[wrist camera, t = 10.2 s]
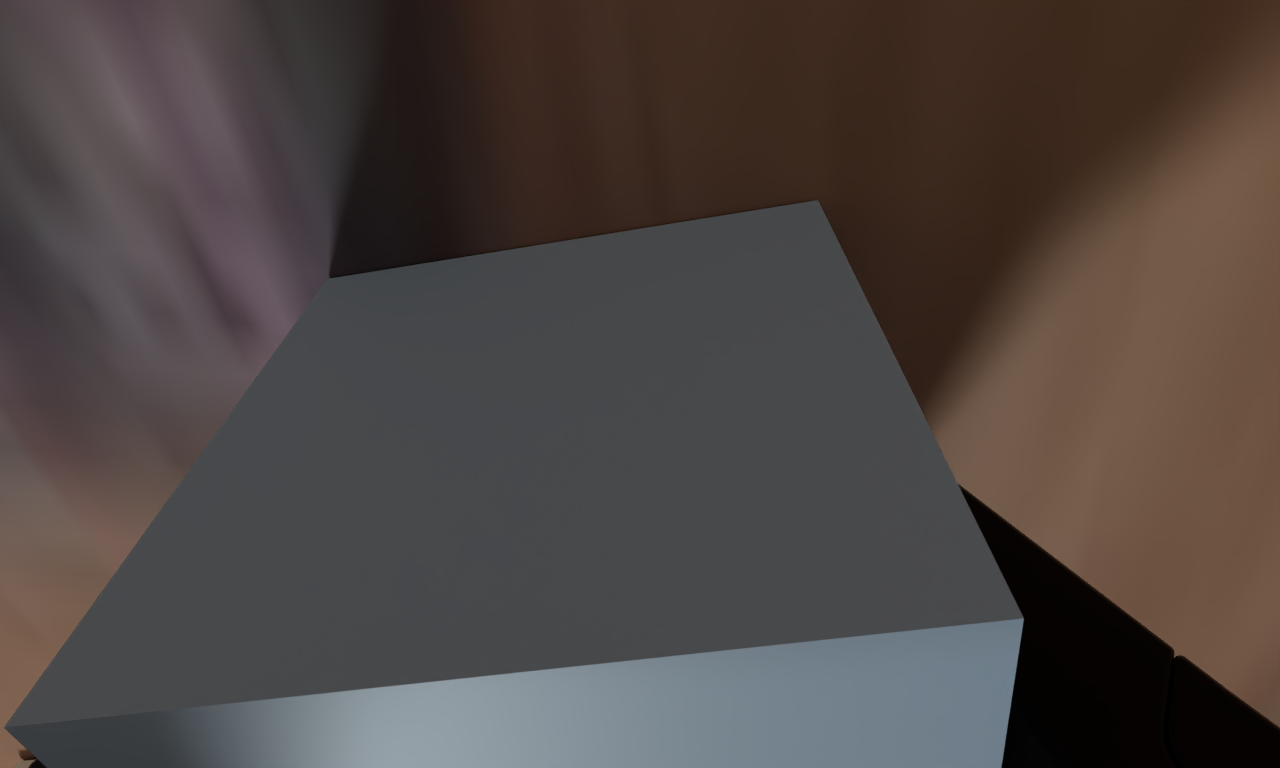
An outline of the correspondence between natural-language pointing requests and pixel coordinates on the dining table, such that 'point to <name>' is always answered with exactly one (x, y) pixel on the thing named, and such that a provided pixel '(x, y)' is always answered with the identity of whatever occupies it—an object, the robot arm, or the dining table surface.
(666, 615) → the blue cube
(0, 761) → the dining table surface
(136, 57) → the dining table surface
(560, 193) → the dining table surface
